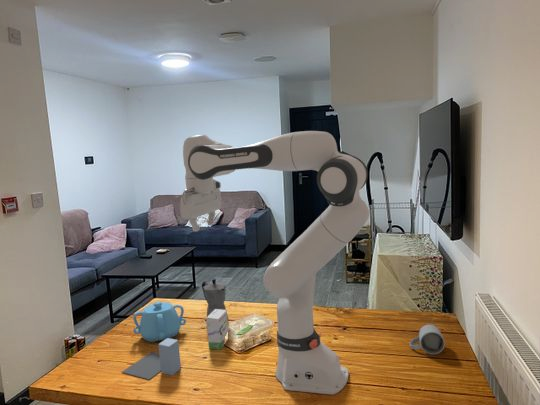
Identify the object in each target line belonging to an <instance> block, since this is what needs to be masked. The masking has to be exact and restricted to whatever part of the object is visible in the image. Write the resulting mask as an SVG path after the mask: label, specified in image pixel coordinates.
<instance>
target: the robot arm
mask: <svg viewBox="0 0 540 405" xmlns="http://www.w3.org/2000/svg"><path fill="white" fill-rule="evenodd" d="M338 150H339V149H338V145H337V142H336V139H335V138H334V136H333V135H332V134H331V133H329V132H327V131H319V130H304V131H294V132H287V133H284V134H281V135H278V136H274V137H270V138H269V139H266V140H263V141H260V142H259V141H258V142H257V143H253V144H249V145H244V146H237V147H233V146H232V145H229V144H225V143H222V142H218V141H216V140H213V139H212V138H210V137H209V136H207V135H206V134H198V135H197V134H196V135H193V136H189V137H187V138H185V139H184V141H183V147H182V156H183V166H184V168H185V188H186V189H184V190H183V192H182V194H181V198H180V210H179V211H180V216H181V219H182V220H188V222H189V223H190V225H191V228H192V231H193V232H198V231H200V229H201V228H200V224H198V222H197V221H198V218H199V217H202V216H203V215H208V218H207V220H206V221H207V222H206V224H207V225H208V226H213V225H214V224H215V216H216V211H218V210H220V209H221V207H222V192H221V186H222V184H221V182H220V181H218V180H216V179H214V178H216V177H221V176H225V175H230V174H231V173H234V172H235V171H236V170H237V171H238V170H243V169H244V170H245V169H258V170H270V171H279V172H299V171H311V170H312V171H316V172H317V174H316V184H317V186H318V189H319V191H320V192H321V193H322V195H323V196H324V198H325V199H326V202H327V203H328V204H329V205H328V207H326V208H325V210H324V211H323V212H321V214H320V215H319V216H318V217H317V218H316V219H315V220H314V221H313V222H312V223H311V224H310V225H309V226H308V227H307V229H305V230H304V231H303V232H302V233H301V234H300V235H299V236H298V237H297V238H296V239H295V240H294V241H293V242H292V243H291V244H289V246H288V247H287V248H285V249H284V251H282V252H281V253H280V254H279V255H278V256H277V257H276V258H275V259H274V260H273V261H272V262H271V263H270V265H269V266H268V267H267V268H266V270H265V272H264V273H263V278H262V280H263V282H262V283H263V286H264V288H265V290H266V291H267V292H268V293H269V295H271V296H272V297H274V298H277V299H278V301H277V303H276V304H277V306H276V319H277V321H276V322H277V331H276V343H277V347H278V356H277V357H278V359H277V367H276V371H275V376H276V379H277V380H278V381H279V382H280V383H281V386H282V388H283V390H286V391H292V392H293V391H294V392H303V393H313V394H323V395H336V394H338V393H339V392H340V391H342V390H343V389H344V387H345V386H346V384H347V383H348V380H349V371H348V368H347V367H345V366H342V365H341V360H340V358H339V356H338V354H337V353H336V352H335V351H333V350H332V349H330V348H329V347H328V346H327V345H326V344H324V343H323V342H322V341H321V337H322V331H320V332H319V333H317V331H316V330H315V327H314V326H315V325H314V297H315V289H316V281H317V280H316V278H317V273H318V272H319V271H321V269H323V267H325V266H326V265H327V264H328V263H329V262H330V261H331V260H332V259H333V258H335V256H336V255H337V254H339V253H340V252H341V251H342V250H343V249H344V248H345V247H346V245H348V244H349V243H350V242H351V241H352V240H353V239H354V238H355V237H356V236H357V235H358V233H359V232H360V231H361V230H362V229H363V227H364V226H365V225H366V223H367V221H368V219H369V218H370V211H369V210H370V209H369V207H368V205H367V204H366V202H365V201H364V200H363V199H362V197H361V196H360V190H361V189H362V188H363V187H364V186H365V185H366V183H367V181H368V177H369V176H368V175H369V171H368V167H367V165H366V164H365V163H364V161H363V160H361V159H360V158H358V157H357V156H354V155H352V154H349V153H347V152H346V151H343V150H342V151H338Z"/></svg>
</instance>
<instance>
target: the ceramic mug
mask: <svg viewBox="0 0 540 405" xmlns="http://www.w3.org/2000/svg"><path fill="white" fill-rule="evenodd" d="M417 342H419V343H418V344H416V343H417ZM445 345H446V342H445V338H444V336H443V334H442V332H441V330H440V329H439V328H438V327H437V326H435V325H434V324H425V325H423V326H422V327H421V328H420V329H419V332H418V336H416V337H415V338H412V339H411V340H410V341H409V346H410V349H412V350H420V349H421V350H422V351H423V352H424V353H426V354H429V355H438V354H441V353H442V351H444V349H445Z"/></svg>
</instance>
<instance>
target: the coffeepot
mask: <svg viewBox="0 0 540 405" xmlns="http://www.w3.org/2000/svg"><path fill="white" fill-rule="evenodd" d="M226 287H227V285H226V284H225V283H224V282H217V279H215V278H213V279H211V283H210V282H208V281H203V282H202V283H201V289H202V292H203V295H204V299H205V300H206V303H207V310H206V318H207V317H208V315H210V314H211V313H212V312H213V311H214V310H215V309H221V310H227V308H226V305H225V301H226V289H227V288H226ZM227 319H228V320H229V315H228V314H227Z"/></svg>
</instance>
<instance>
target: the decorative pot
mask: <svg viewBox="0 0 540 405" xmlns="http://www.w3.org/2000/svg"><path fill="white" fill-rule="evenodd" d="M177 309H180V315H179V314H178V312H177ZM184 312H185V310H184V307H183V306H182V305H181V304H174V305H173V304H172V303H171V302H165V301H163V302H162V301H160V300H159V301H155V302H154V303H151V304H150V305H147V306H145V307H144V309H143V311H142V310H139V311H137V312H135V313H134V315H133V323H134V325H135V327H134V328H133V333H134V334H136V335H139V334H140V336H141V337H142V338H143V339H144V340H145V341H148V342H149V343H155V342H157V341H164V340H165V339H167V338H170V339H174V337H175V336H176V335H178V334H179V332H180V330H181V327H182V326H185V325H186V323H187V321H186V319H185V318H184V317H183V316H184ZM140 315H141V317H140V321H139V322H138V320H137V316H140Z"/></svg>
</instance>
